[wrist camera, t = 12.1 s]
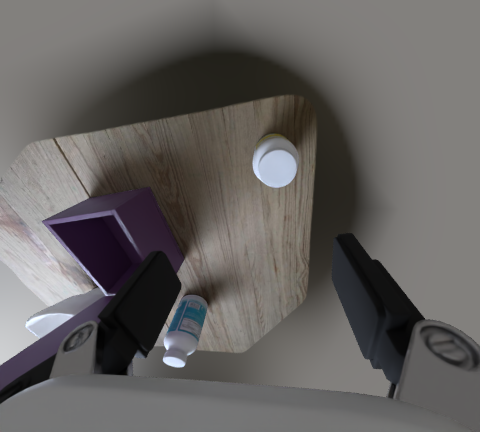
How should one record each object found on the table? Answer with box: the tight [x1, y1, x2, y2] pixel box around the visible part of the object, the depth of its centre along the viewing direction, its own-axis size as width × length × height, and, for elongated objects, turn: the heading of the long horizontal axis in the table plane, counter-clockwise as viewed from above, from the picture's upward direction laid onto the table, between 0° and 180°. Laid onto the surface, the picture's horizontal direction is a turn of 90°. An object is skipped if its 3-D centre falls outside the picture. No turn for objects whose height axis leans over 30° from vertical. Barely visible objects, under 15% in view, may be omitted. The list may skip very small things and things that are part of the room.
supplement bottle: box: [253, 133, 299, 188], centre depth 23 cm, size 5×5×10 cm
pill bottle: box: [163, 295, 208, 367], centre depth 42 cm, size 8×7×14 cm
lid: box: [0, 296, 114, 391], centre depth 25 cm, size 18×14×5 cm
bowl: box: [25, 287, 115, 339], centre depth 46 cm, size 22×22×12 cm
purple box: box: [42, 187, 184, 296], centre depth 34 cm, size 18×14×9 cm
